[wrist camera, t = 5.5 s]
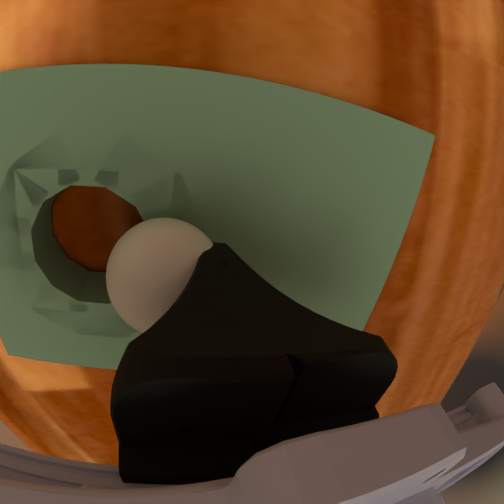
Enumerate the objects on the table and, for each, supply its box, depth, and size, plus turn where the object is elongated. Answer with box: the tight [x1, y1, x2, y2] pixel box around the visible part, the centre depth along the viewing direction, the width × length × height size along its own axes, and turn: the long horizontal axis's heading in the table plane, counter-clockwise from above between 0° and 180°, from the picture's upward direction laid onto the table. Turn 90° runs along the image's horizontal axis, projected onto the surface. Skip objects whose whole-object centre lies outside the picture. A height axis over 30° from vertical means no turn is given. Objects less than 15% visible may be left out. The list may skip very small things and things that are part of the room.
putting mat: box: [0, 64, 435, 370], centre depth 13 cm, size 20×14×2 cm
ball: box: [106, 218, 213, 333], centre depth 10 cm, size 4×4×4 cm
